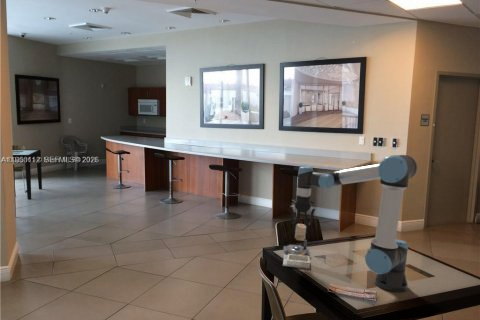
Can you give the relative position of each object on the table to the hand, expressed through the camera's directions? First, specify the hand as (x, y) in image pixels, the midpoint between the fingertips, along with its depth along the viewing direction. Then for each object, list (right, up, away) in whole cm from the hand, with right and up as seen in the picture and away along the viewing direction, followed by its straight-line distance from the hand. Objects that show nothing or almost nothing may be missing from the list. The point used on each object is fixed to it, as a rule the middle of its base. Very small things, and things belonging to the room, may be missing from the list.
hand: (300, 237), depth 208 cm
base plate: (-1, -13, +10) cm, 17 cm away
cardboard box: (0, 0, 0) cm, 1 cm away
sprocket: (0, -12, +16) cm, 20 cm away
